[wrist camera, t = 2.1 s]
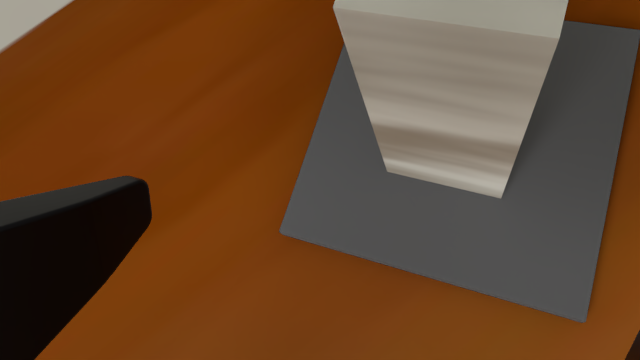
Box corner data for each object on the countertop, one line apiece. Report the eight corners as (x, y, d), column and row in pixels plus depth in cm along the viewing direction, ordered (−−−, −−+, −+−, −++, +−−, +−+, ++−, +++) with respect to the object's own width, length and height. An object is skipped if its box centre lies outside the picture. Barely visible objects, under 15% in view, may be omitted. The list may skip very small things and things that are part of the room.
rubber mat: (581, 322, 20) (585, 321, 19) (282, 234, 24) (279, 231, 23) (636, 38, 23) (641, 30, 22) (362, 1, 27) (361, -6, 26)
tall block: (501, 198, 22) (559, 38, 10) (387, 171, 23) (333, 7, 12) (526, 94, 23) (603, -150, 12) (416, 75, 24) (391, -157, 13)
